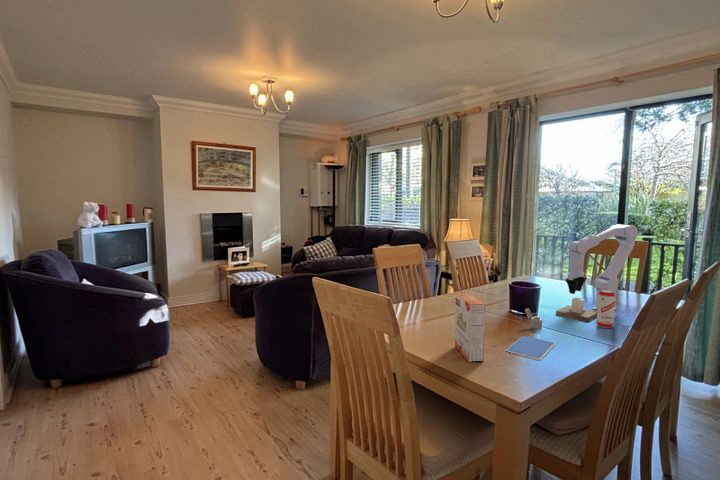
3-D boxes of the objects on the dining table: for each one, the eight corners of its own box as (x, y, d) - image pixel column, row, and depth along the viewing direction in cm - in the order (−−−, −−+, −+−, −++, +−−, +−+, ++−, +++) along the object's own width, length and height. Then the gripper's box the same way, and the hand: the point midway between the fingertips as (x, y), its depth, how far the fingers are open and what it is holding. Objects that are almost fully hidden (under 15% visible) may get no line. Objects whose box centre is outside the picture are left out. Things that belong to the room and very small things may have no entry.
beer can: (615, 329, 161) (618, 293, 159) (599, 328, 162) (602, 292, 161) (609, 324, 167) (611, 289, 166) (593, 323, 169) (596, 288, 167)
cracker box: (453, 347, 143) (455, 293, 140) (469, 346, 143) (470, 293, 141) (467, 363, 129) (468, 304, 127) (484, 362, 129) (486, 303, 127)
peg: (574, 313, 184) (575, 297, 183) (583, 315, 180) (584, 299, 180) (571, 315, 181) (572, 299, 180) (580, 317, 178) (581, 300, 177)
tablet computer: (540, 362, 130) (540, 358, 130) (504, 352, 139) (504, 349, 139) (555, 346, 145) (555, 342, 145) (522, 338, 153) (522, 335, 153)
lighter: (542, 329, 162) (542, 311, 161) (540, 330, 161) (541, 311, 160) (525, 324, 167) (526, 307, 166) (523, 325, 166) (524, 308, 165)
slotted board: (567, 309, 190) (567, 305, 190) (598, 315, 180) (599, 311, 180) (555, 314, 182) (556, 310, 181) (587, 321, 171) (588, 317, 171)
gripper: (573, 262, 193) (572, 288, 195) (562, 266, 184) (560, 293, 186) (589, 264, 188) (587, 291, 189) (577, 268, 179) (576, 295, 180)
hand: (575, 292), depth 187 cm, fingers open, 7 cm apart
